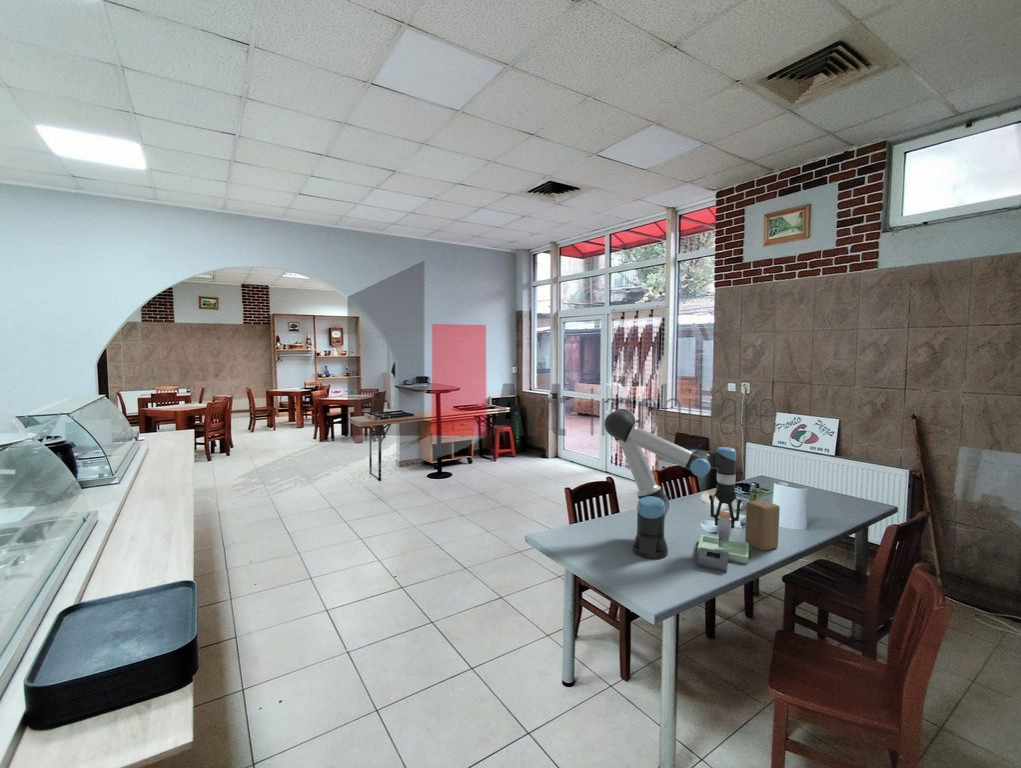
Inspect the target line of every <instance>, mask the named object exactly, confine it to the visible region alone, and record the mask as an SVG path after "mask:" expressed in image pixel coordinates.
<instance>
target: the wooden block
mask: <svg viewBox="0 0 1021 768" xmlns="http://www.w3.org/2000/svg"><path fill="white" fill-rule="evenodd" d="M780 510H781V508H780V505H778V504H776V503H773V502H770V501H767V500H764V499H756V500H750V501H747V502H746V513H745V536H744V537H745V539H744V542H747V543H749V546H751V547H754V548H755V549H757V550H759V551H762V552H763V551H769V550H772V549H777V548H779V532H780V531H779V527H780Z"/></svg>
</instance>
